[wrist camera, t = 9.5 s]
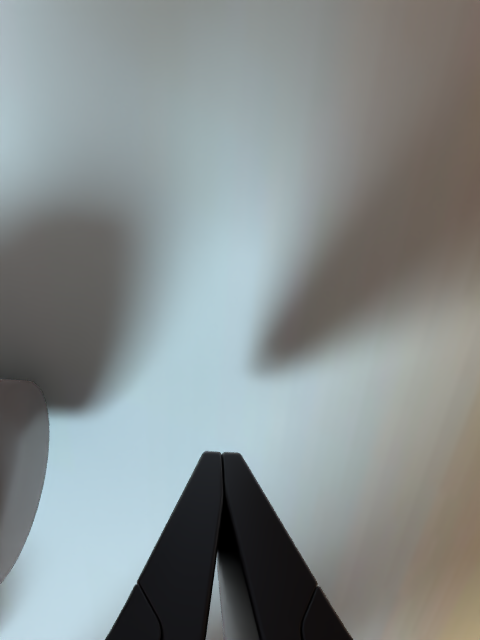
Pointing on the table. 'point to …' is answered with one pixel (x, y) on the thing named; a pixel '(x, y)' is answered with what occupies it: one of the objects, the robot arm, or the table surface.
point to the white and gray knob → (20, 464)
